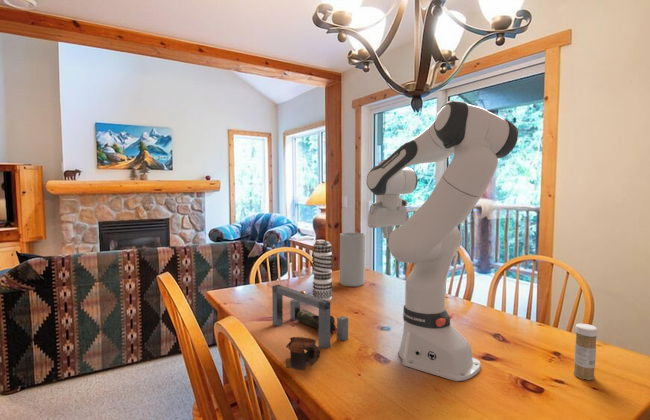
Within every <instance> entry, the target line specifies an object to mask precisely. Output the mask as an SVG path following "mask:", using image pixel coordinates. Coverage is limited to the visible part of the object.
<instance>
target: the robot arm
mask: <svg viewBox="0 0 650 420" xmlns="http://www.w3.org/2000/svg"><path fill="white" fill-rule="evenodd" d="M518 130H519V129H518V127H517V126H516V125H515V124H514V123H513V122H511V121H510V120H509V119H506V118H502V117H501V116H498V115H497V114H495V113H493V112H491V111H489V110H487V109H486V108H483V107H480V106H476V105H473V104H470V103H469V104H468V103H466V102H465V101H462V100H449V101H447V102H446V103H444V104H443V105H442V106H441V107H440V109H439V110H438V111H437V113H436V116H435V118H434V121H433V122H432V123H431V124H430V125H429V126H427V128H426V129H425V130H423V131H422V132H421V133H420V134H418V135H417V136H415V137H413V138H412V139H410V140H408V141H407V142H405V143H403V144H402V145H401V146H400V147H398V148H397V149H396V150H395V151H394V152H392V153H391V155H389V156H388V157H387V158H386V159H382V160H381V161H379V162H378V165H375V166H373V167H372V168H371V169H370V171H369V172H368V174H367V176H366V186H367V187H368V189H369V191H370V192H371V193H372V194H373V195H375V196H376V197H375V200H376V202H372V203H371V205H370V206H369V210H368V215H367V226H368V228H371V229H379V228H380V230H381V232H382V234H383V235H382V238H383V239H388V249H389V252H390V254H391V256H392V257H393V258H394V259H395V260H396V261H398V262H401V263H406V264H414V266H413V268H412V270H411V272H410V273H409V274H408V275H407V276H406V280H405V293H404V297H405V299H404V300H405V301H404V303H405V304H404V305H403V313H402V315H403V316H402V318H403V323H404V324H403V333H402V338H401V342H400V344H399V345H400V346H399V348H398V352H397V353H398V355H399V357H400V358H401V360H402V361H401V362H402V365H403V366H404V367H409V368H412V369H415V370H418V371H421V372H425V373H428V374H431V375H435V376H438V377H439V378H440V377H441V378H444V379H448V380H450V381H454V382H460V381H461V382H463V381H467V380H469V379H471V378H473V377H475V376H476V375H477V374H478V373H480V370H481V368H482V366H481V361H480V360H479V359H476V358H475V357H473V352H472V347H471V344H470V342H469V341H468V340H467V339H466V338H465V337H464V336H463V335H462V334H461V333H460V332H459V331H458V330H457V329H456V328H455V327H454V326H453V325H452V323H451V319H453V318H454V313H451V314H449V313H448V312H447V309H446V308H445V307H446V289H447V288H446V287H447V278H448V276H449V272H450V268H451V265H452V262H453V259H454V257H455V255H456V253H457V252H458V250H459V249H460V248H461V245H462V242H463V238H462V232H461V231H460V229H459V228H458V227H457V226H459V225H461V224H462V223H464V221H466V220H467V218H468V216H469V215H471V212H472V210H473V209H474V208H475V206H476V205H477V203H478V201H480V199H481V197H482V196H483V194H484V193H485V191H486V189H487V188H488V186H489V184H490V182H491V181H492V178H493V176H494V174H495V172H496V170H497V167H498V163H499V160H498V159H502V158H505V157H506V156H508V155H510V153H511V152H512V151H513V150H514V148H515V147H516V145H517V143H518V139H519V131H518ZM451 156H453V157H452V159H451V162H450V163H449V164H448V166H447V167H446V169H445V170H444V172H443V173H442V175H441V178H440V179H439V180H438V182H437V184H436V186H435V187H434V188H433V190H432V192H431V193H430V194H429V196H428V197H427V199H426V201H424V203H423V204H422V205H420V207H419V208H417V210H416V211H415V212H414V213H413V214H412V215H411V216H410V217H409V218H408V217H407V216H408V215H407V212H408V210H407V206H408V201H407V200H406V199H403V198H402V197H401V195H406V194H407V195H408V194H412V193H413V192H414V191H415V190H416V189H417V186H418V180H419V179H418V175H417V172H416V171H415V170H414V169H413V168H411V166H413V165H419V164H427V163H428V164H429V163H438V162H442V161H444V160H447V159H448V158H449V157H451ZM394 227H396V228H394Z"/></svg>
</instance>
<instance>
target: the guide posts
mask: <svg viewBox="0 0 650 420" xmlns="http://www.w3.org/2000/svg"><path fill="white" fill-rule="evenodd" d="M289 301H290V302H289V303H290V305H289V306H290V307H289V308H290V310H289V311H290V313H289V314H290V318H289V319H290V320H291V321H294V322H296V321H298V320H297V314H298V312H299V311H300V310H301V302H300V301H298V300H295V299H291V300H289ZM336 340H339V341H340V342H345V341H347V340H349V317H346V316H344V315H341V316H338V317H336Z"/></svg>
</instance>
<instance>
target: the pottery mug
mask: <svg viewBox="0 0 650 420" xmlns="http://www.w3.org/2000/svg"><path fill="white" fill-rule="evenodd" d="M289 339H290V341H289V342H288V343H287V344H286V346H285V347H286V348H287V349H289V354H290V357H289V358H286V359H285V363H286V368H290V369H295V370H302V371H305V370H306V367H307V364H308V366H310V367H311V366H313V365H314V364H315V363H316V362H317V361H318V360H319V359H320V357H321V349H320V347H319V346H317V344H316V343H317V340H315V339H314V338H309V337H303V336H293V337H290V338H289ZM305 351H306V352H305Z"/></svg>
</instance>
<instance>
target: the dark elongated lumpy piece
mask: <svg viewBox="0 0 650 420" xmlns="http://www.w3.org/2000/svg"><path fill="white" fill-rule="evenodd" d="M296 321H298V322H300V323H303V324H305V325H308V326H310V327H313V328H316V329H317V330H319V315H317V314H315V313H314V312H313V313H312V312H311V311H309V310H307V309H305V308H304V309H303V308H302V309H300V311H299V312H298V314H297V320H296ZM335 322H336V320H335V317H334V316H333V315H331V314H330V335H331V334H334V332H335V331H336V325H335Z"/></svg>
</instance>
